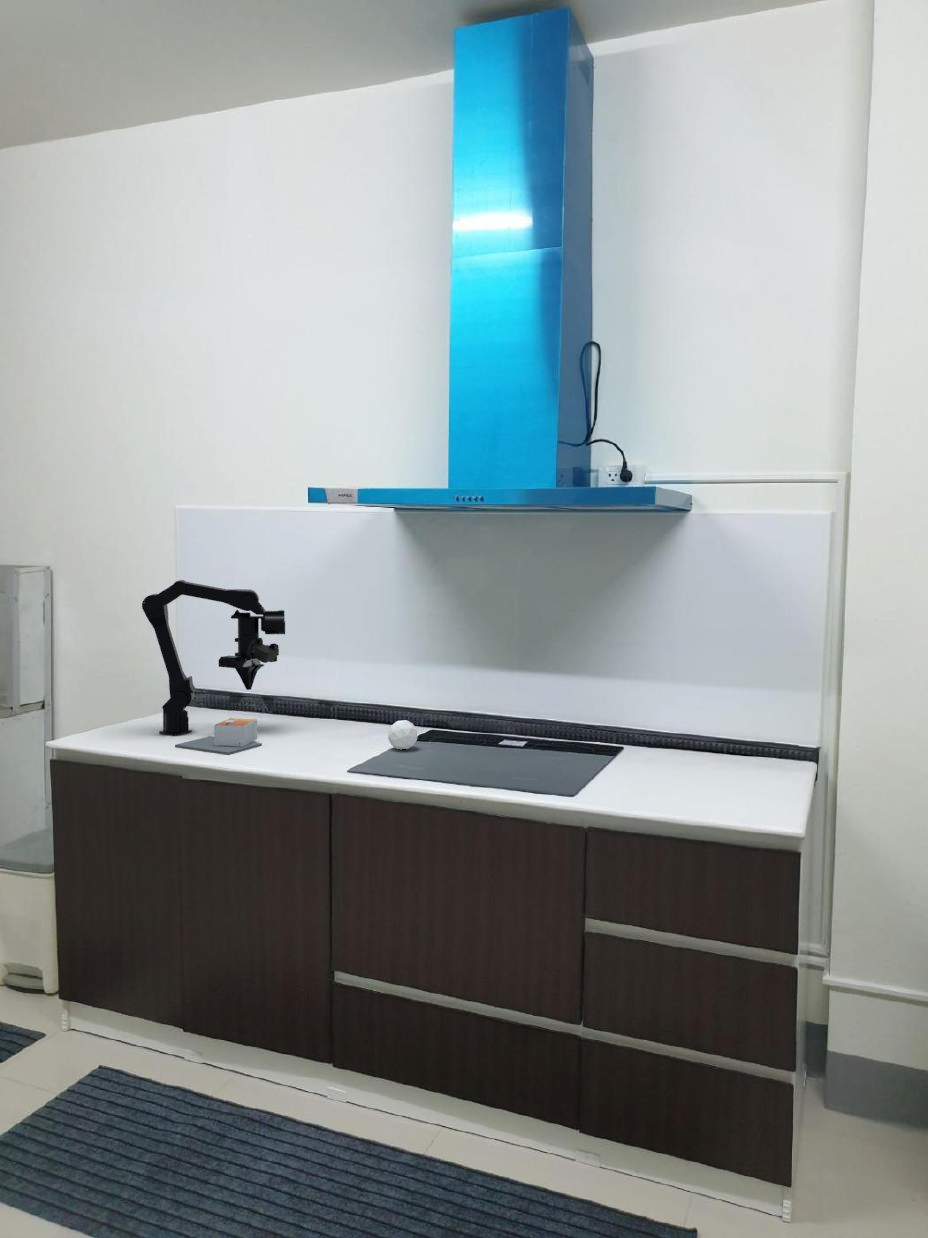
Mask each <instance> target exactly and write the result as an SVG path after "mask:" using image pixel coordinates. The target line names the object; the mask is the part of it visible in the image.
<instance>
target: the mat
mask: <svg viewBox="0 0 928 1238" xmlns="http://www.w3.org/2000/svg"><path fill="white" fill-rule="evenodd" d="M261 746H263V744H262V742H255V741H253V742H251V743H249V744H247V745H245V746H244V747H236V746H215V745H214V736H211V735H209V736H205V737H201V738H197V739H193V740H189V741H184V742H181V743H177V744H174V748H179V749H185V750H186V749H187V750H192V751H198V752H199V751H200V752H208V753H212V754H220V755H221V754H222V755H227V756H229V755H234V754H236V753H240V752H244V751H248V750H252V749H253V748H258V747H261Z"/></svg>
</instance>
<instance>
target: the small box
mask: <svg viewBox="0 0 928 1238" xmlns="http://www.w3.org/2000/svg"><path fill="white" fill-rule="evenodd" d="M213 730H214V731H213V733H214V735H213V737H214V745H215V746H236V747H244V746H245V745H247V744H249V743H251V742H255V741H256V740H258V719H257V718H238V717H237V718H236V717H234V718H232V717H230V718H228V719H226V720H223V721H220V722H218V723H217V724H214V729H213Z"/></svg>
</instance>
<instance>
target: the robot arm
mask: <svg viewBox="0 0 928 1238" xmlns="http://www.w3.org/2000/svg"><path fill="white" fill-rule="evenodd" d="M180 596H188V597H193V598H197V599H203V600H208V601H213V602H214V601H215V602H220V603H224V604H227V605H229V606H230V607H233V608H237V609H235V611H234V613H233V614H232V615H231V616H230V619H234V620H236V619H237V637H234V642H235V643H237V652H234V655H225V656H224V655H223V656H220V658H219V659H218V668H219V667H220V668H229V669H235V671H236V673H237V674H238V676H239V677H240V680H241V682H242V683H243V685H244V687H245V689H246V690H247V691H250V690H252V687H253V685H254V683H255V682H254V681H255V679H256V675H257V673H258V671H259V670H260V669H261V668H262V667H264V666H265V664H266V663H273V662H274V663H275V662H278V656H279V655H280V649H279V648H280V647H279V645H278V644H277V643H275V642H274V643H270V644H264V641H263V640H264V639H263V638H262V637H259V636H260V635H259V633H260V631H261V632H264V634H265V635H286V620H285V617H286V616H285V615H286V614H285V610H284V609H283V610H282V609H280V610H266V609H265V607H263V605H262V604H261V603H260V598H259V595H258V593H257V592H256V591H255V590H253V589H249V588H248V589H247V588H246V589H239V588H237V589H236V588H234V589H230V588H228V589H227V588H223V587H216V586H210V585H205V584H200V583H196V582H195V583H194V582H190V581H186V580H184V579H180V580H176V581H175V582H174V583H173V584H172V585H170V586H169V587H167V588H166V589H165V588H164V590H162V591H161V592H159V593H153V594H150V595H148V596H145V598H144V599H143V600H142V602H141V608H142V611H143V613H144V614H145V616H146V619H147V620H148V622H149V623H150V625H151V627H152V628H153V630H154V632H155V636H156V640H157V643H158V646H159V649H160V653H161V656H162V659H163V662H164V665H165V666H164V667H165V669H166V671H167V672H166V673H167V675H168V689H169V699H168V700H167V701H166V702H165V703H164V704H163V705H162V707H161V708H162V727H163V729H162V730H160V731H159V732H158V733H159V734H162V735H168V736H169V735H170V736H179V735H183V734H188V733H192V732H193V730H192V729H189V726H190V725H189V724H190V723H189V720H190V719H189V716H188V715H189V714H188V710H186V708H187V706H188V705H190V704H191V703H192V701H193V699H194V697H195V692H196V690H197V688H196V686H194V682H193V676H191V675H190V676H188V677H187V675H186V674H185V672H184V671H183V667H182V665H181V664H182V663H181V660H180V657H179V654H178V651H177V647H176V644H175V640H174V637H173V634H172V631H171V628H170V624H169V608H168V604H170V603H171V602H173V601H174V600H176V599H178V598H180ZM240 610H242V611H244V612H241V611H240ZM251 613H253V614H255V615H252V614H251ZM259 619H260V623H259ZM259 629H260V631H259ZM261 663H263V664H261Z"/></svg>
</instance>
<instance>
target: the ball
mask: <svg viewBox="0 0 928 1238" xmlns="http://www.w3.org/2000/svg"><path fill="white" fill-rule="evenodd" d="M387 736H388V737H387V739H388V741H389V743H390V745H391V747H393V748H395V749H396V750H398V749H400V750H399V751H403V750H402V749H406V750H409V749H410V748H412V747H413V746H414V745H415V744H416V742H417V740H418V730H417V728H416V727H415V725H414V724H413V723H412V722H411V721H409V720H406V719H404V720H397V721H395V722H394V723H393V724H392V725H391V726H390V727H389V729H388V731H387Z"/></svg>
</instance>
